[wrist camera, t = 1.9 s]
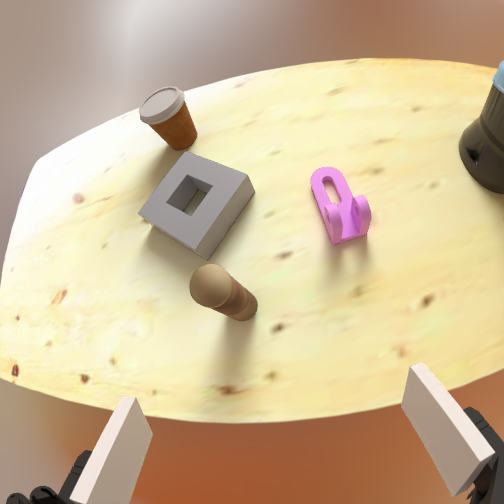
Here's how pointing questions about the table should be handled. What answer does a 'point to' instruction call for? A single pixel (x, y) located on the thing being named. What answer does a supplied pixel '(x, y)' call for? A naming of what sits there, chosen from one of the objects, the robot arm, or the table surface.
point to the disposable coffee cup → (169, 117)
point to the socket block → (210, 209)
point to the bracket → (340, 207)
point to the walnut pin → (222, 293)
